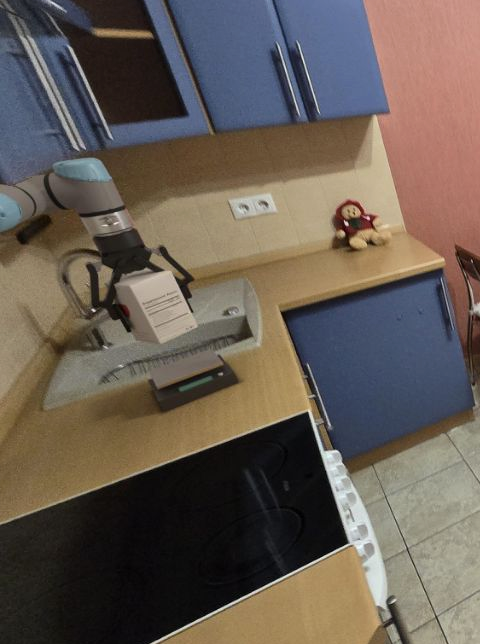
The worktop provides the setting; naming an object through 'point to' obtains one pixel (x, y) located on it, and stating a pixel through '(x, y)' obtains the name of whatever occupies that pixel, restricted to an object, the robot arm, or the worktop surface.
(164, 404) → the scale base
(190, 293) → the robot arm
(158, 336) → the rectangular carton
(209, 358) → the scale pan
